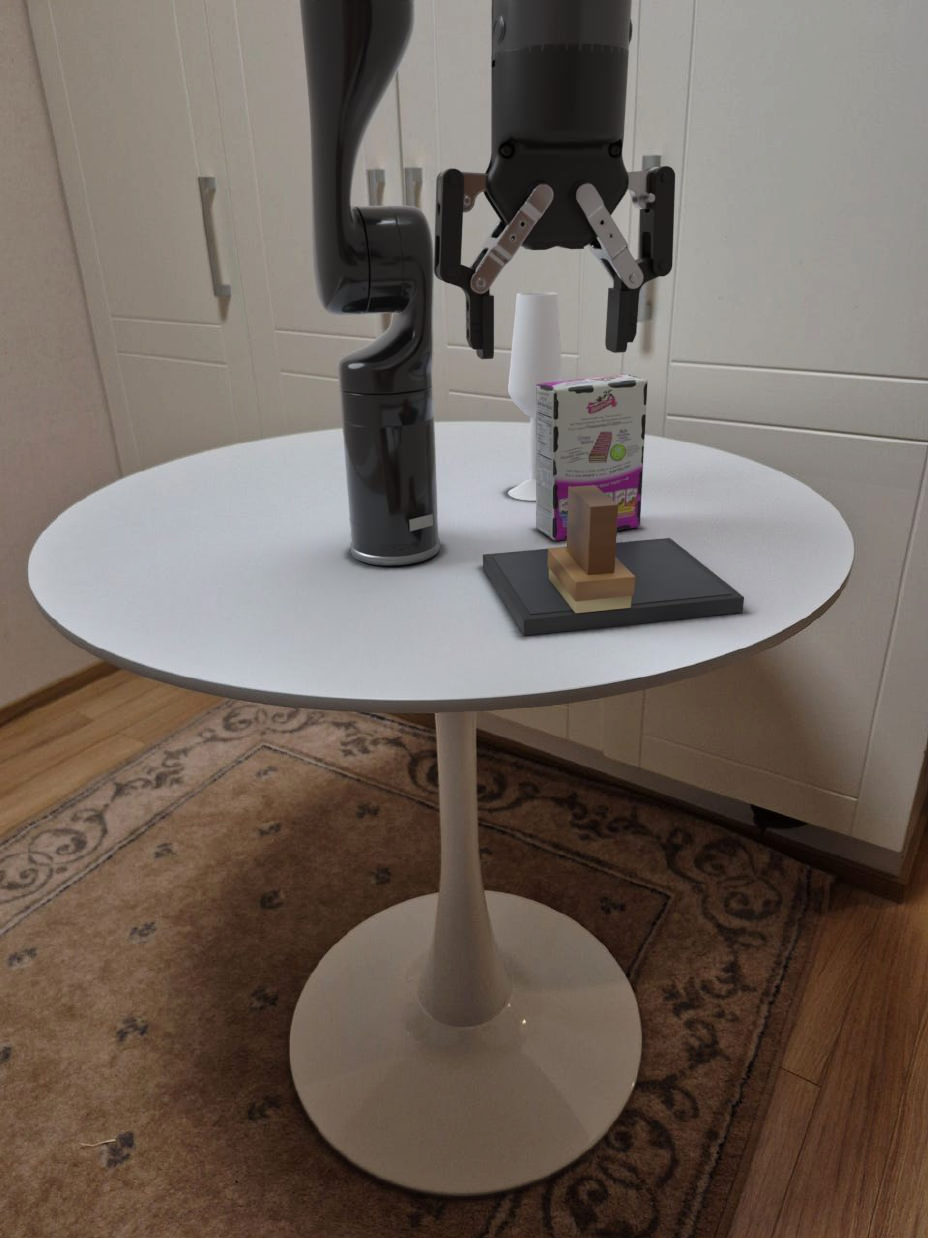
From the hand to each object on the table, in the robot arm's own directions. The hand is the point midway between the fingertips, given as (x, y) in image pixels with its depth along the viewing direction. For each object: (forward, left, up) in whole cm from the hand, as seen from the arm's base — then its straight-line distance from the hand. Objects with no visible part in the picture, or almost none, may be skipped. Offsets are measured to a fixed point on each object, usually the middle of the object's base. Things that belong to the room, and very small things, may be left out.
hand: (550, 354), depth 54 cm
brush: (-13, +8, -23) cm, 27 cm away
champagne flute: (-49, +13, -24) cm, 56 cm away
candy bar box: (-34, +15, -24) cm, 44 cm away
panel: (-17, +11, -24) cm, 32 cm away
